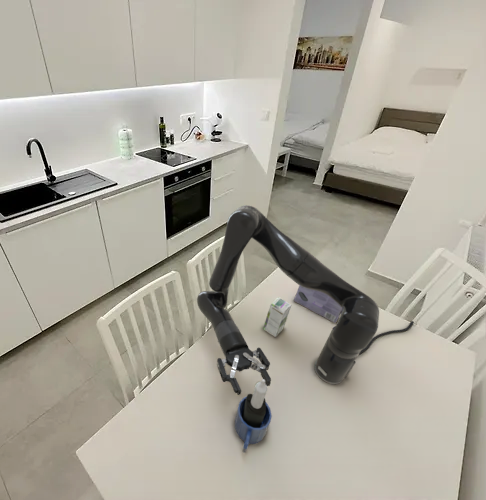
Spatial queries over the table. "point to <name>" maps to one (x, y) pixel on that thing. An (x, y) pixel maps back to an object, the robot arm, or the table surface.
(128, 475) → the table surface
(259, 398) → the candle
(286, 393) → the table surface
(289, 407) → the table surface
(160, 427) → the table surface
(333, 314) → the cake pan box
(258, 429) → the mug
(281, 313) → the syrup box
